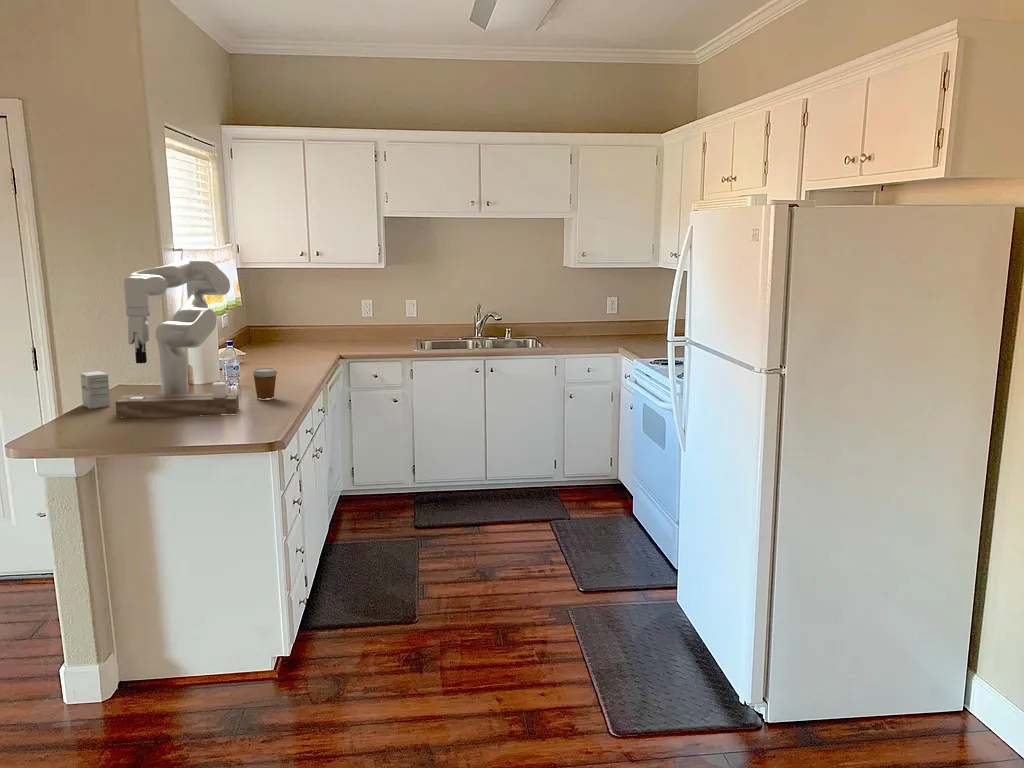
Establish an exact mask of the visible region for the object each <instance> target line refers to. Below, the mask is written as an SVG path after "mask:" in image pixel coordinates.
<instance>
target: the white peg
mask: <svg viewBox="0 0 1024 768" xmlns="http://www.w3.org/2000/svg"><path fill="white" fill-rule="evenodd" d="M226 383H227V382H226V381H225V382H224V381H217V382H216V381H215V382H212V386H211V387H212V393H213V398H226V393H227V384H226Z"/></svg>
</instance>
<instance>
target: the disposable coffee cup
mask: <svg viewBox="0 0 1024 768" xmlns="http://www.w3.org/2000/svg"><path fill="white" fill-rule="evenodd" d="M277 374H278V371H277V369H276V368H272V367H261V368H255V369H253V371H252V375H253V376H252V377H253V379H254V387H255V393H256V398H261V399H266V398H272V397H274V398H275V391H276V390H275V389H276V379H277Z"/></svg>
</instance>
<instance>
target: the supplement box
mask: <svg viewBox="0 0 1024 768" xmlns="http://www.w3.org/2000/svg"><path fill="white" fill-rule="evenodd" d="M80 385H81V397H82V406H84V407H86V408H87V409H90V410H93V409H92V408H94V409H99V408H98V407H102V408H107V407H106V406H109V407H110V406H111V403H110V402H111V399H110V384H109V374H108V373H106V372H103V371H99V370H98V371H90V372H89V371H88V372H80Z"/></svg>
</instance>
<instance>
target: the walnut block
mask: <svg viewBox="0 0 1024 768" xmlns="http://www.w3.org/2000/svg"><path fill="white" fill-rule="evenodd" d="M131 397H145V398H144V399H143V400H129V399H130V398H131ZM239 405H240V404H239V392H226V398H213V392H212V393H189V394H162V393H161V394H123V395H121V396H120V397H118V398H117V400H116V401H115V413H116V414H115V415H116V416H115V417H116V419H127V418H126V417H146V418H172V417H173V418H175V417H174V416H182V417H201V416H200V415H218V416H222V415H221V414H236V413H237V414H238V412H237V411H239V409H240V407H239ZM238 408H239V409H238ZM171 416H172V417H171ZM121 417H123V418H121Z"/></svg>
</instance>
